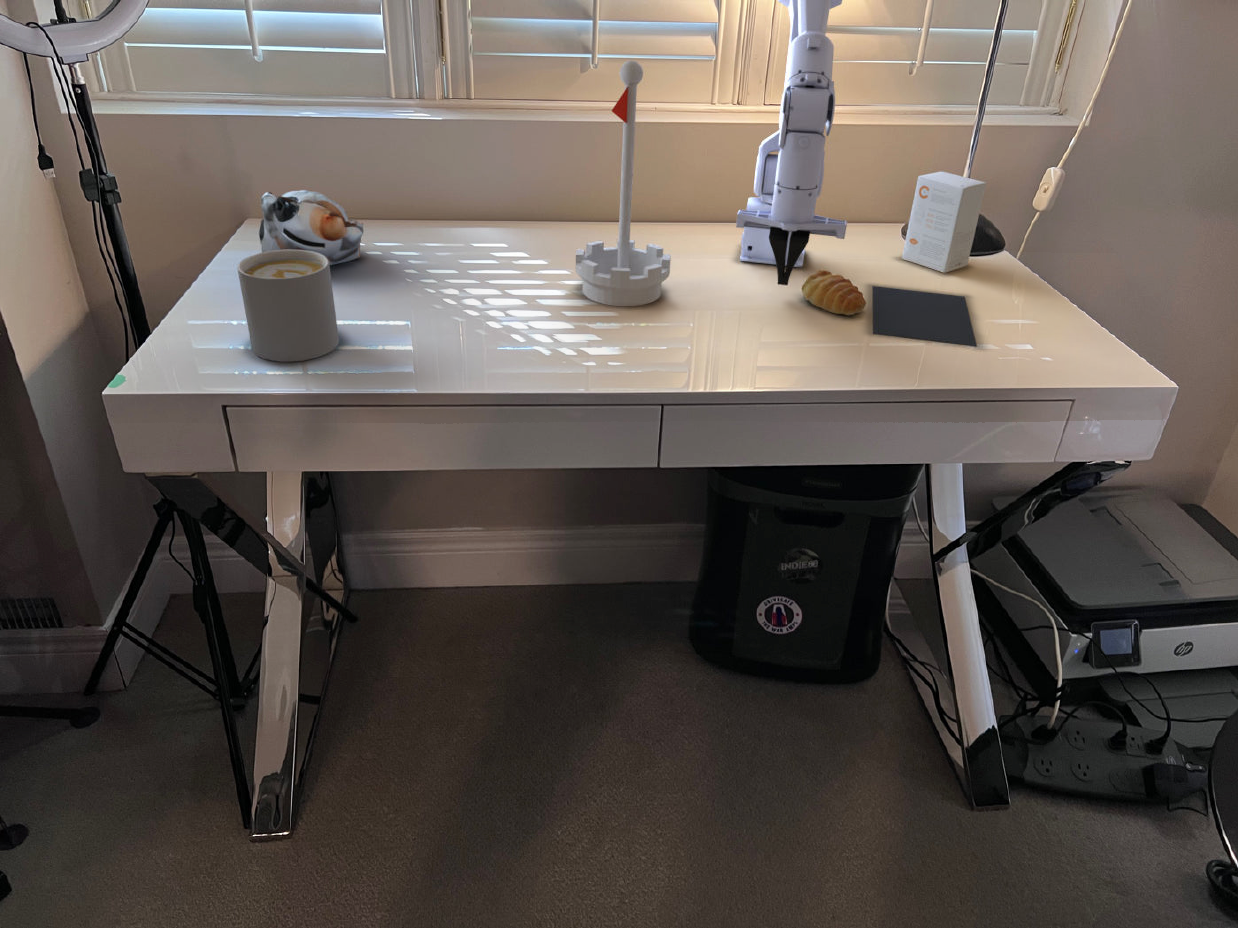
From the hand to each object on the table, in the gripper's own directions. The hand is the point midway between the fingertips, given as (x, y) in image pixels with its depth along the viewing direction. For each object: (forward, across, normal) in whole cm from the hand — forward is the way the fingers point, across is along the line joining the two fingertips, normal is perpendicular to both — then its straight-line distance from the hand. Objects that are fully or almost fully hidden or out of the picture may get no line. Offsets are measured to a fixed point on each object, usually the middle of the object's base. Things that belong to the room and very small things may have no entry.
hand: (783, 282), depth 130 cm
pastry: (+2, +7, 0) cm, 7 cm away
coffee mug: (+2, -56, -33) cm, 65 cm away
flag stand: (+2, -22, -5) cm, 23 cm away
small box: (+2, +22, +23) cm, 32 cm away
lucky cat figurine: (+2, -66, -9) cm, 66 cm away
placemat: (+2, +19, 0) cm, 19 cm away
